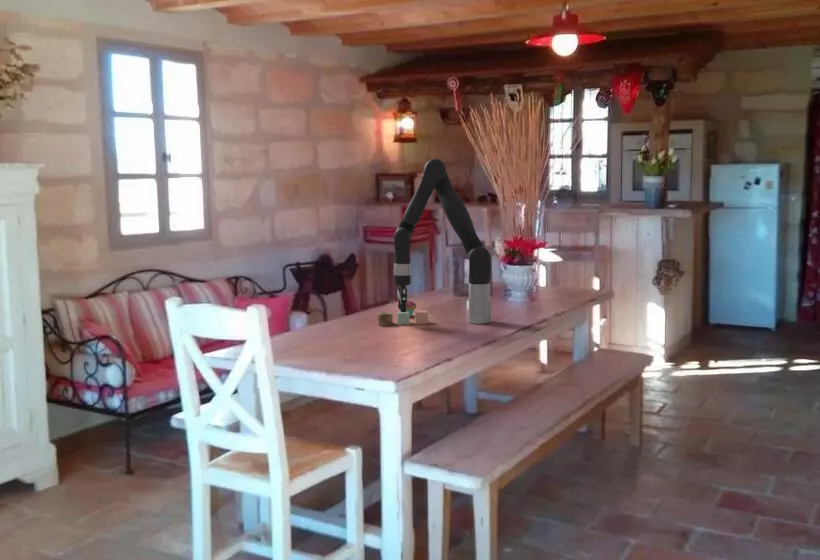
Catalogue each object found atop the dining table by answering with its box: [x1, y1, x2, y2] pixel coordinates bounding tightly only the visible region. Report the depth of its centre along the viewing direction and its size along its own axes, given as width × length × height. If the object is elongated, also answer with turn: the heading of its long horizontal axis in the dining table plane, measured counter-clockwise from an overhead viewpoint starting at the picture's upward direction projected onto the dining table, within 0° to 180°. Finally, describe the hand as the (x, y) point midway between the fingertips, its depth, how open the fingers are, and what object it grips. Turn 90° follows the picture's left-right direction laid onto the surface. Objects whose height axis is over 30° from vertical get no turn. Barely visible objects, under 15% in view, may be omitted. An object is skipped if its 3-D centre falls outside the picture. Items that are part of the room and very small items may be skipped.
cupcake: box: [398, 299, 417, 317], centre depth 393 cm, size 9×8×12 cm
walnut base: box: [376, 311, 394, 327], centre depth 375 cm, size 6×6×5 cm
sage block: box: [396, 311, 411, 326], centre depth 376 cm, size 5×5×5 cm
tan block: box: [414, 310, 429, 325], centre depth 377 cm, size 5×5×5 cm
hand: (402, 310), depth 375 cm, fingers open, 8 cm apart
